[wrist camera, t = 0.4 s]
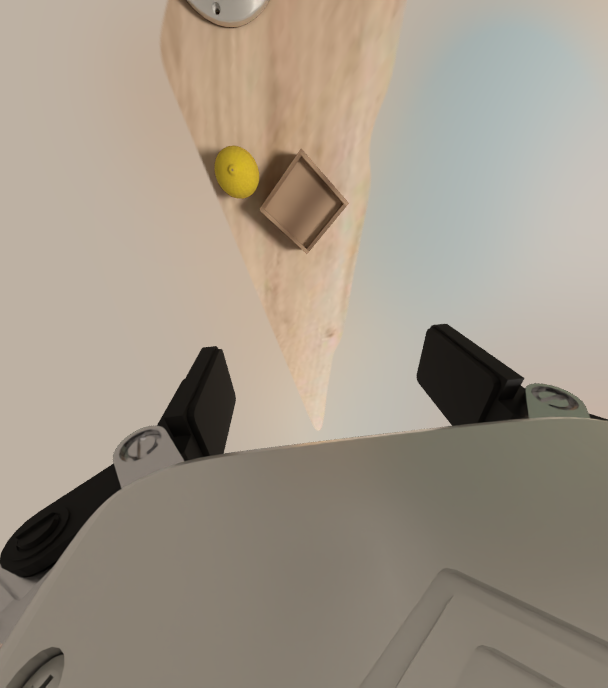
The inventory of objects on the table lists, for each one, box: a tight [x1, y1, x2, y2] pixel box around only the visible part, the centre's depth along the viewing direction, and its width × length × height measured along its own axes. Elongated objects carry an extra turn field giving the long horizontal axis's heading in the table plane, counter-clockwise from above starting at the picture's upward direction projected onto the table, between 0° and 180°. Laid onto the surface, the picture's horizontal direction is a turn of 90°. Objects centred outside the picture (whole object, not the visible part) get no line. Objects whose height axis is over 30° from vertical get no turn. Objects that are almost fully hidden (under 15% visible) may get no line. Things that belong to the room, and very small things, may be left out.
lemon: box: [215, 146, 259, 199], centre depth 31 cm, size 6×6×8 cm
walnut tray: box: [259, 149, 349, 254], centre depth 35 cm, size 9×9×4 cm
